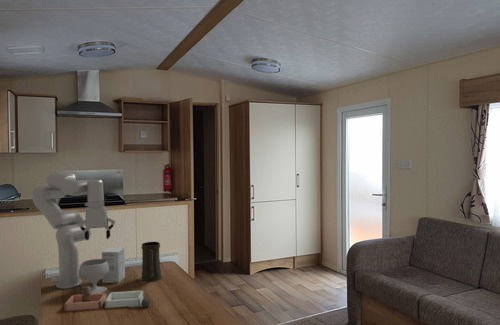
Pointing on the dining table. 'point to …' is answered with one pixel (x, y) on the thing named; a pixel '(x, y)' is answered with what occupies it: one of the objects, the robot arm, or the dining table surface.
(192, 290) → the dining table surface
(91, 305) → the terracotta tub
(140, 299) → the grey tub
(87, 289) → the walnut peg
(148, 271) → the beer stein
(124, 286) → the dining table surface
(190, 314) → the dining table surface
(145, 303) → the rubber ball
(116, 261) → the supplement box
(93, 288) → the chalice
